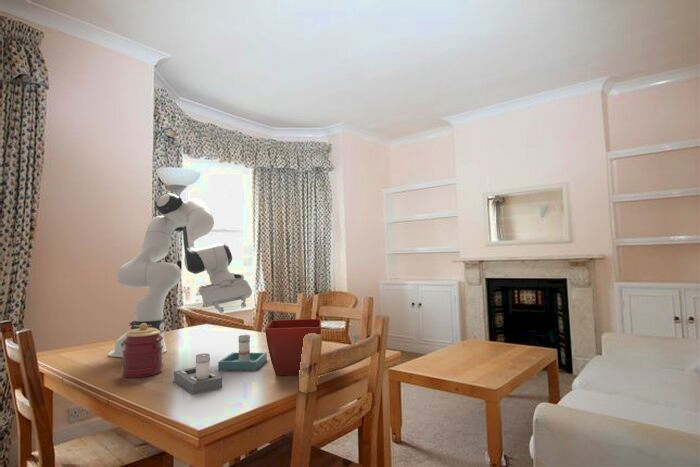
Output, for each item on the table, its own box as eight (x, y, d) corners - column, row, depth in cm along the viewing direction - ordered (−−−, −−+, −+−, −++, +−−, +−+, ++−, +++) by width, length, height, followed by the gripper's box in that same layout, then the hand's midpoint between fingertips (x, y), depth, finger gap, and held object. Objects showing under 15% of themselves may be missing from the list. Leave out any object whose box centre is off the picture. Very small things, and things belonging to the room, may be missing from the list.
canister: (144, 379, 134) (145, 326, 135) (112, 377, 137) (113, 325, 138) (170, 368, 147) (171, 320, 148) (140, 367, 150) (141, 319, 151)
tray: (218, 370, 144) (218, 361, 144) (232, 360, 158) (232, 352, 158) (256, 370, 143) (256, 362, 143) (266, 360, 157) (266, 352, 157)
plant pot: (271, 363, 152) (271, 319, 153) (321, 362, 154) (321, 318, 154) (264, 379, 133) (264, 328, 134) (321, 377, 134) (321, 327, 135)
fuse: (193, 389, 124) (193, 356, 124) (199, 384, 128) (199, 353, 128) (206, 389, 123) (206, 356, 124) (211, 385, 128) (212, 353, 128)
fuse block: (173, 380, 133) (173, 370, 133) (200, 374, 139) (200, 364, 139) (193, 394, 119) (193, 382, 120) (222, 387, 125) (222, 376, 125)
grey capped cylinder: (236, 364, 149) (236, 337, 150) (240, 361, 153) (240, 335, 154) (247, 364, 149) (247, 337, 149) (251, 361, 153) (251, 335, 153)
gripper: (199, 282, 161) (209, 311, 155) (246, 273, 174) (257, 300, 167) (196, 291, 166) (206, 319, 159) (243, 282, 178) (254, 308, 172)
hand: (233, 309), depth 163 cm, fingers open, 8 cm apart
